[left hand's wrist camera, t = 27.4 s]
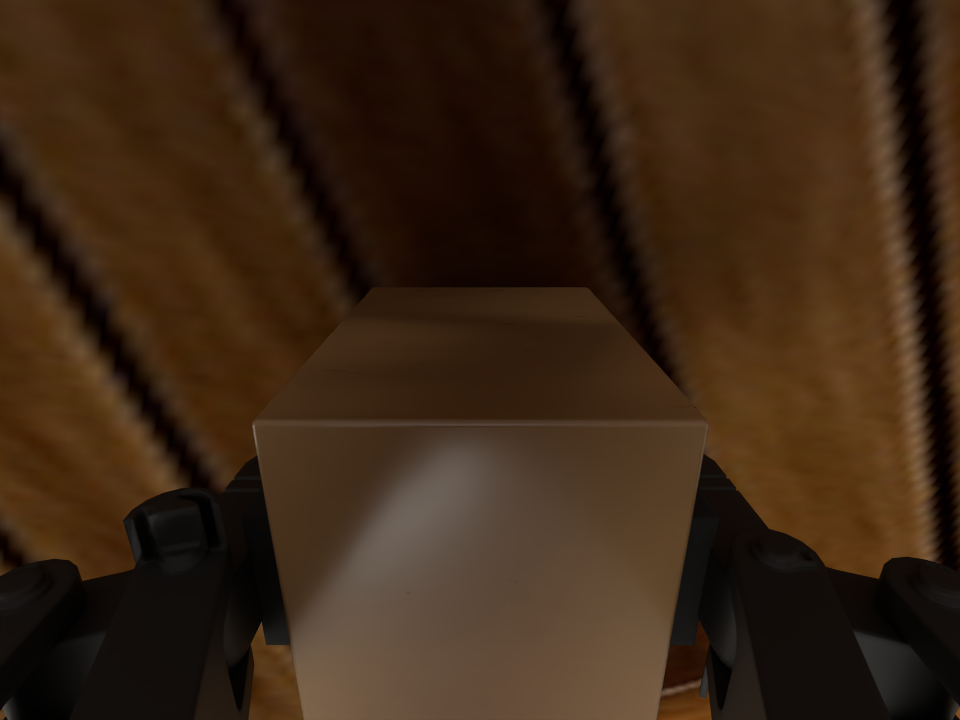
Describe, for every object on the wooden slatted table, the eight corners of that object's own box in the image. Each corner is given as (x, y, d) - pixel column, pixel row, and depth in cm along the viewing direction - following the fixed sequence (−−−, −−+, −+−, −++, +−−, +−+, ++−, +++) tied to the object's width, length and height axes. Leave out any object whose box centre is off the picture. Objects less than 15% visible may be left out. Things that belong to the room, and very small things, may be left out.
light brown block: (387, 496, 17) (310, 768, 9) (371, 286, 14) (247, 421, 7) (572, 496, 17) (649, 769, 9) (588, 286, 14) (712, 421, 7)
